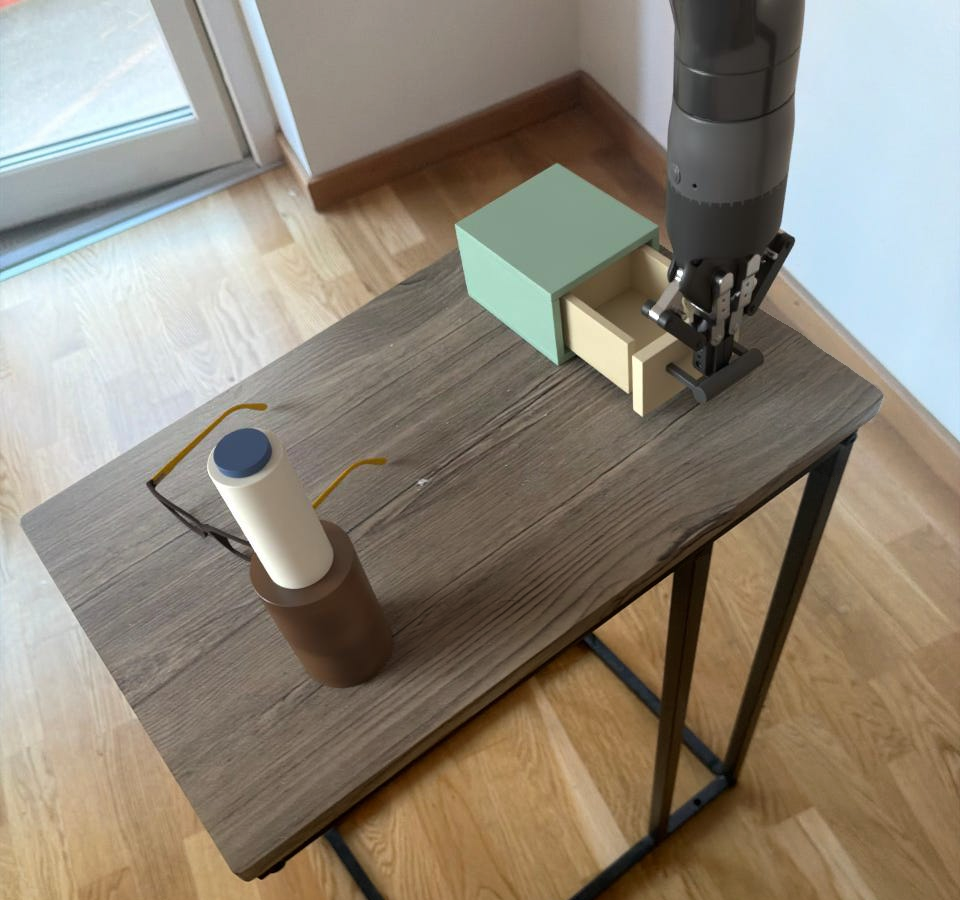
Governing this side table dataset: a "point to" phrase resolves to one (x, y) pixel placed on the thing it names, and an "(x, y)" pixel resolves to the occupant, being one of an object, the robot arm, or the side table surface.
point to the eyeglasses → (205, 528)
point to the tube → (271, 506)
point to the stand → (330, 617)
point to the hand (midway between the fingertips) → (711, 369)
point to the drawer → (640, 335)
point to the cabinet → (545, 251)
